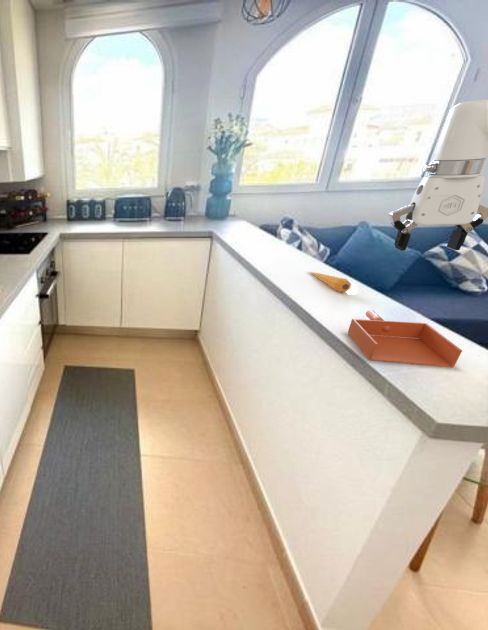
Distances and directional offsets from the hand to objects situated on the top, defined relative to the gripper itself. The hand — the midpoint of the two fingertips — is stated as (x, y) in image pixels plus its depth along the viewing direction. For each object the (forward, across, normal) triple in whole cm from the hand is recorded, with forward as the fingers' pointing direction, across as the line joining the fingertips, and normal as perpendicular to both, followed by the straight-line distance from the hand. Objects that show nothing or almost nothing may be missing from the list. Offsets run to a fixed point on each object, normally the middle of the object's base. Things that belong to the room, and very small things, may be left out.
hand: (425, 248), depth 79 cm
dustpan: (+21, -4, -5) cm, 23 cm away
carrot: (+21, -5, +34) cm, 41 cm away
